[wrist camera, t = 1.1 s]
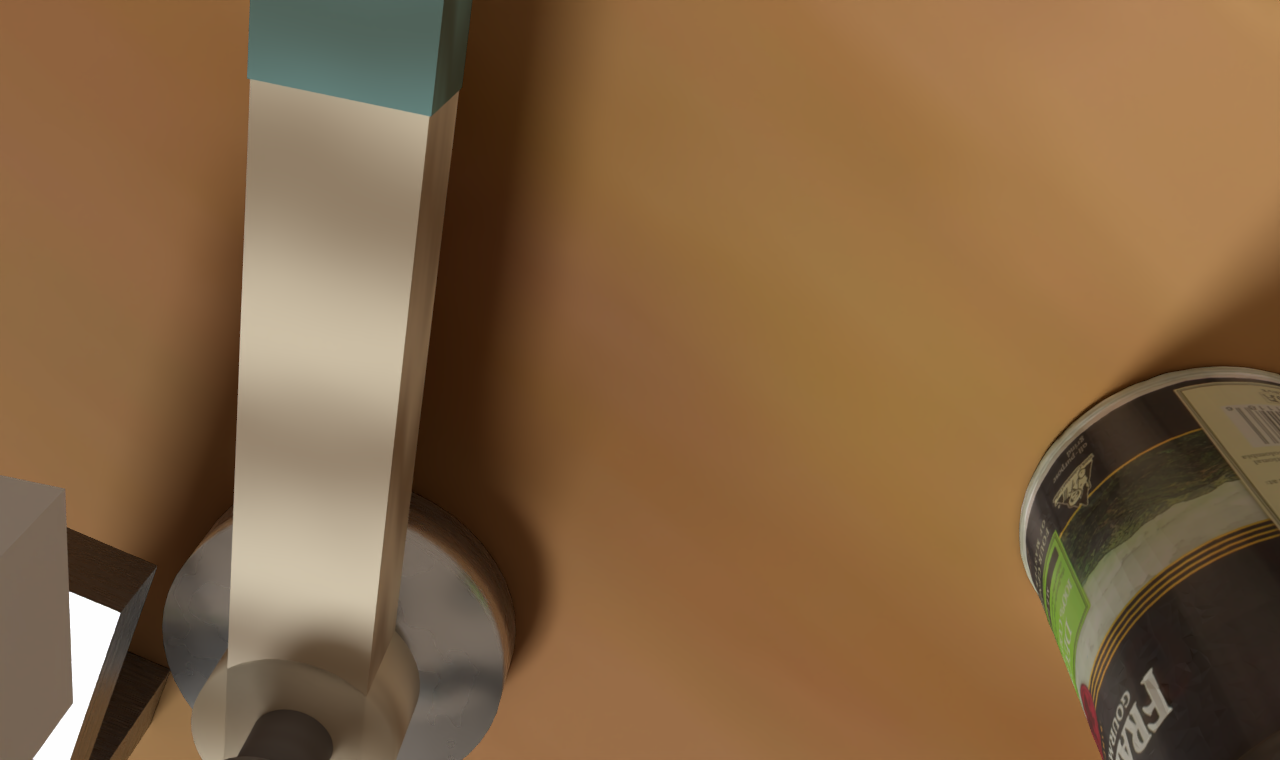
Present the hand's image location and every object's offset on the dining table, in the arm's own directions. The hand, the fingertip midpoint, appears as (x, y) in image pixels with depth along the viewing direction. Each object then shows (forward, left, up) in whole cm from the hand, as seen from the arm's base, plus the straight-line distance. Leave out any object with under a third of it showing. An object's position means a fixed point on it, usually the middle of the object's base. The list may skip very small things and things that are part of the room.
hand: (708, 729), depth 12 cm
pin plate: (-18, +9, -22) cm, 30 cm away
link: (-8, +9, -19) cm, 23 cm away
